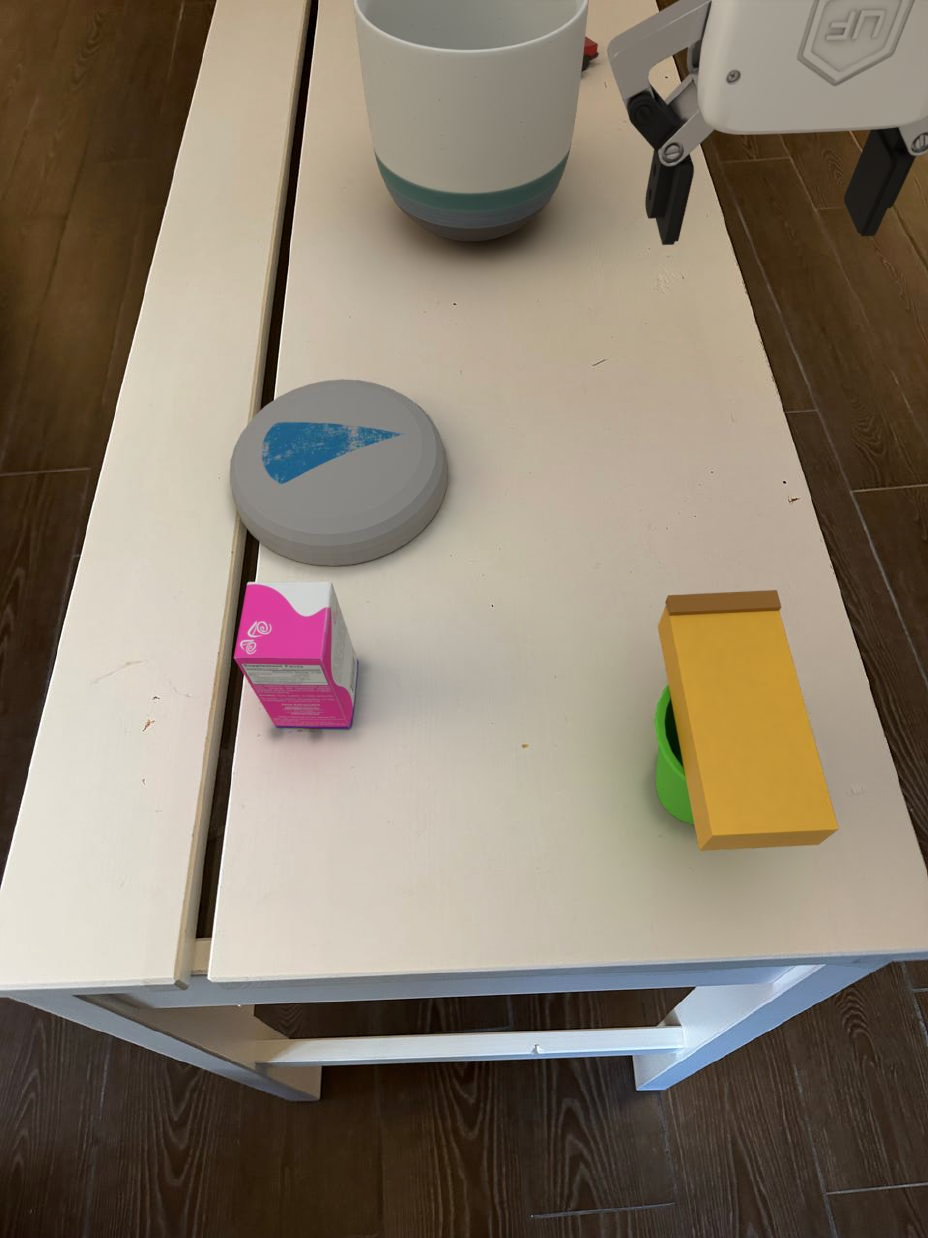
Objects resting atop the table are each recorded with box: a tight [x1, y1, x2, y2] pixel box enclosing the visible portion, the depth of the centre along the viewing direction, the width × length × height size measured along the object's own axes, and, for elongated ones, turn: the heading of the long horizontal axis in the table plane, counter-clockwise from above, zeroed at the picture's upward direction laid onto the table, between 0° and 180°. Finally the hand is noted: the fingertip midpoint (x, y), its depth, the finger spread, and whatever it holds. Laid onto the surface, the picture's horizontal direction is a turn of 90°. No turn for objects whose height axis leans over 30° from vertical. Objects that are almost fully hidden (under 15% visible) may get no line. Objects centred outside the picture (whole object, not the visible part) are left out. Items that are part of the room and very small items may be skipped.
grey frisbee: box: [229, 379, 449, 567], centre depth 71 cm, size 18×18×5 cm
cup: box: [654, 683, 694, 825], centre depth 54 cm, size 9×9×11 cm
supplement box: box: [233, 581, 359, 730], centre depth 58 cm, size 6×6×12 cm
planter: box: [352, 0, 590, 242], centre depth 82 cm, size 20×20×21 cm
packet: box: [657, 589, 839, 852], centre depth 47 cm, size 14×6×3 cm, turn 3°
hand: (761, 223), depth 42 cm, fingers open, 9 cm apart
